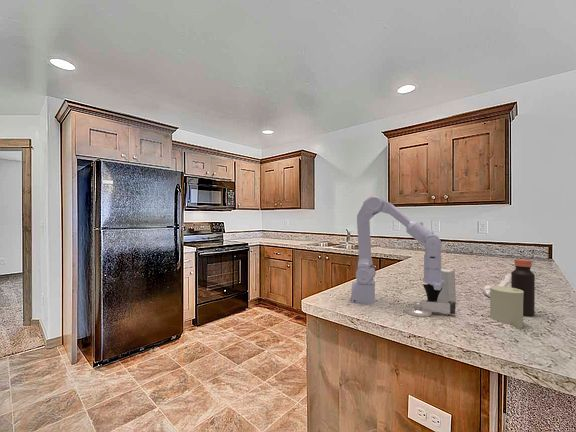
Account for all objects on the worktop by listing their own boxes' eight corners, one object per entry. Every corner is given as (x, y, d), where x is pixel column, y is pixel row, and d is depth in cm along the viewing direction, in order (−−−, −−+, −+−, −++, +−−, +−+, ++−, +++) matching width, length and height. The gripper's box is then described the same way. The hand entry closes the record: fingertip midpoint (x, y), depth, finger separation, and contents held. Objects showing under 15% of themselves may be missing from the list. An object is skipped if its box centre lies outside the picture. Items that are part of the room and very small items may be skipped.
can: (526, 330, 91) (526, 292, 91) (490, 324, 95) (490, 288, 96) (521, 321, 98) (521, 286, 98) (488, 316, 103) (488, 283, 103)
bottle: (512, 309, 112) (512, 258, 112) (535, 313, 107) (535, 260, 107) (509, 313, 107) (510, 260, 107) (533, 318, 102) (533, 262, 102)
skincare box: (456, 307, 114) (456, 270, 114) (448, 310, 110) (448, 271, 110) (435, 302, 120) (436, 266, 121) (427, 304, 117) (428, 268, 117)
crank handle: (406, 315, 99) (406, 302, 99) (402, 307, 108) (402, 295, 108) (459, 320, 95) (459, 306, 95) (451, 311, 104) (451, 298, 104)
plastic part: (482, 294, 134) (482, 269, 134) (507, 296, 131) (507, 271, 131) (489, 298, 126) (489, 272, 127) (515, 300, 124) (515, 274, 124)
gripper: (450, 272, 97) (450, 312, 97) (438, 265, 111) (438, 300, 111) (428, 271, 99) (427, 310, 99) (419, 264, 113) (419, 298, 113)
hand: (432, 305), depth 105 cm, fingers closed
